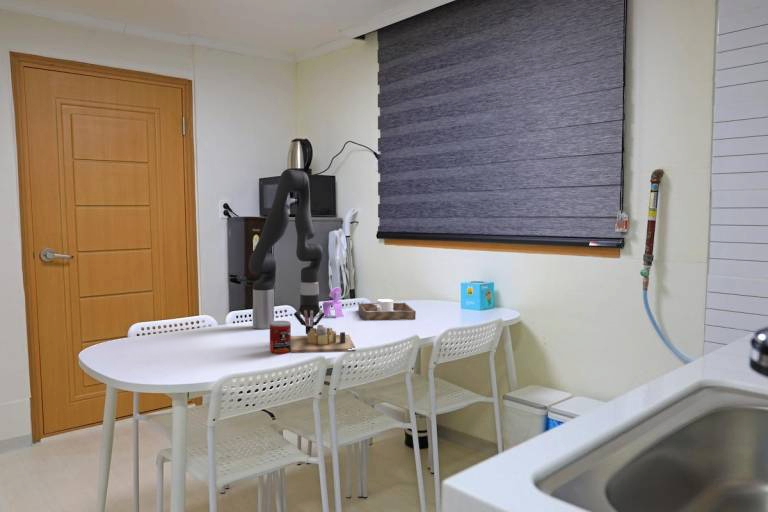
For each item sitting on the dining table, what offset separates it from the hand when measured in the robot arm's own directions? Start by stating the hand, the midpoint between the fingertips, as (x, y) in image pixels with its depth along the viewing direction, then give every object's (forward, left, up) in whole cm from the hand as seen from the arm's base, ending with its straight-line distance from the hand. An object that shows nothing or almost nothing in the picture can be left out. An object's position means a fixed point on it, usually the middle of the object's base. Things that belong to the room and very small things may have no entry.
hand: (309, 335), depth 235 cm
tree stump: (+40, +52, -3) cm, 66 cm away
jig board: (+4, -8, -2) cm, 9 cm away
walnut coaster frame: (+40, +53, -2) cm, 67 cm away
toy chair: (+13, +52, -2) cm, 54 cm away
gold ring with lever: (+4, -4, -1) cm, 6 cm away
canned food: (-12, -18, -2) cm, 21 cm away
